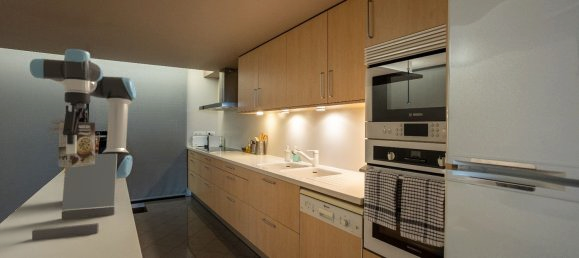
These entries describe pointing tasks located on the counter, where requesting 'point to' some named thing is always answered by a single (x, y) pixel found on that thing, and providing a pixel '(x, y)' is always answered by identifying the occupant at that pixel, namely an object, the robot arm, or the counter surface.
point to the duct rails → (74, 229)
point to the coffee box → (78, 146)
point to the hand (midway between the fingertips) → (77, 152)
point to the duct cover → (91, 184)
